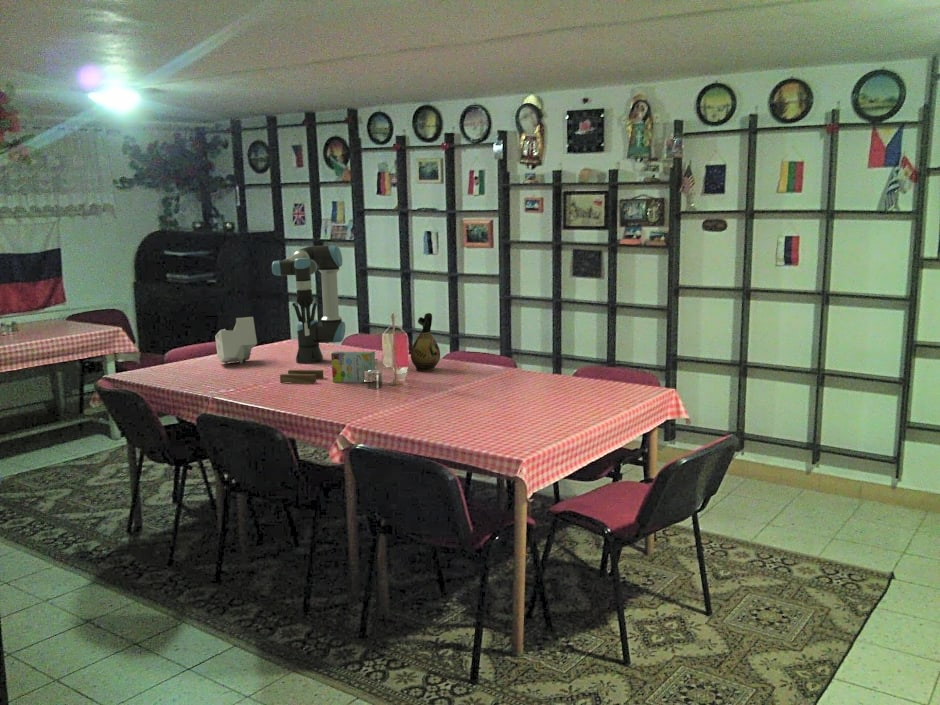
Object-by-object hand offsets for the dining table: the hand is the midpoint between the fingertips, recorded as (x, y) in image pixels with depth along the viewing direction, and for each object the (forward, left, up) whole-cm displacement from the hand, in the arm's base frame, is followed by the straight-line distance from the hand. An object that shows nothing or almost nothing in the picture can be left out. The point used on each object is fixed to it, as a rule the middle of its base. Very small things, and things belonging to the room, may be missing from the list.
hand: (307, 335), depth 426 cm
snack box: (+6, +26, -23) cm, 35 cm away
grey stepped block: (-38, -58, -23) cm, 73 cm away
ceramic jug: (-24, +56, -23) cm, 65 cm away
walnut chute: (+5, -2, -22) cm, 23 cm away
